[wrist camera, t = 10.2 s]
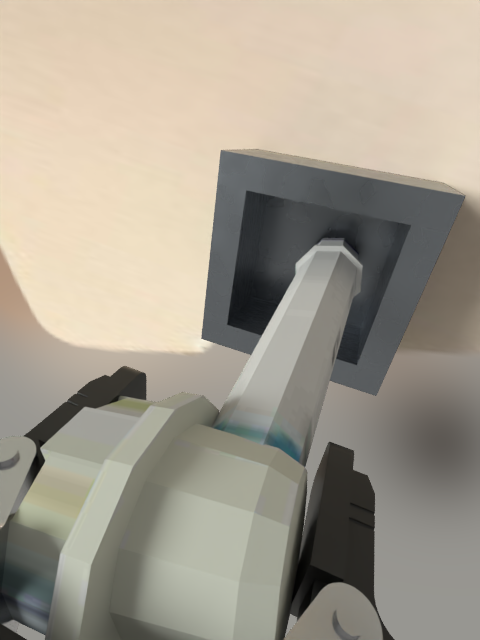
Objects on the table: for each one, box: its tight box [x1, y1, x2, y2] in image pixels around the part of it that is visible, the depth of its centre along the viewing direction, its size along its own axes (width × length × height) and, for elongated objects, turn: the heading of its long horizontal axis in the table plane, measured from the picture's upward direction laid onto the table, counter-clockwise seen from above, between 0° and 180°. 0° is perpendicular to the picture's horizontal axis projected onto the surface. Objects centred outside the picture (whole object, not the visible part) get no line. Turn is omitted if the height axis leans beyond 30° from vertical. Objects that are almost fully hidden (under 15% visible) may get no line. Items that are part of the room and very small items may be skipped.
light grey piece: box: [1, 238, 363, 640], centre depth 16 cm, size 5×7×25 cm
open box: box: [201, 149, 465, 396], centre depth 26 cm, size 14×14×8 cm
